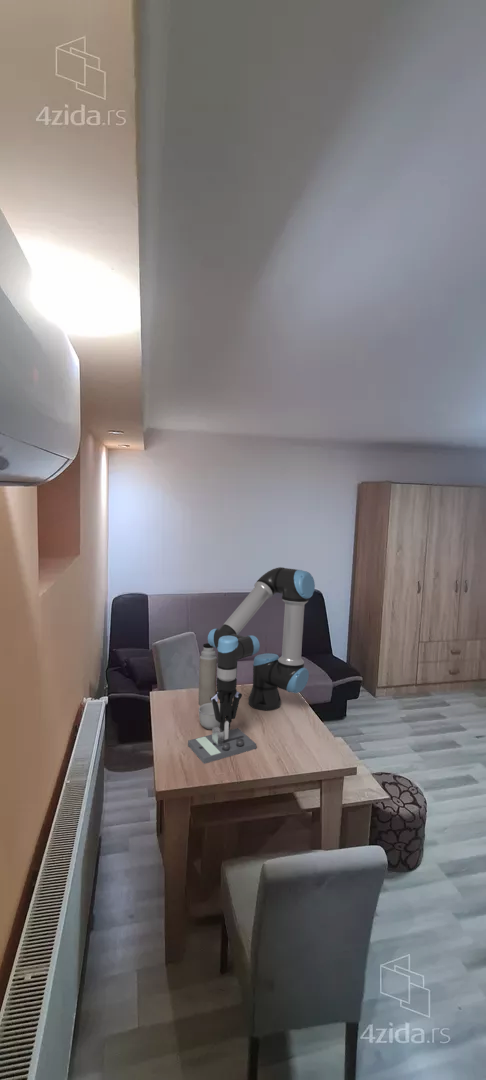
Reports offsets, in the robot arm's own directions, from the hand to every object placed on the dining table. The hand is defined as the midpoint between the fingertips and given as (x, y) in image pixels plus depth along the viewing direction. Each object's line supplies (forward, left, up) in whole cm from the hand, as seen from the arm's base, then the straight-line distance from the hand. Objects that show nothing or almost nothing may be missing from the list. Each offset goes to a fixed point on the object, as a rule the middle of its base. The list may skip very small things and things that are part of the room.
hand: (224, 737), depth 177 cm
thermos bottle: (-11, -37, -4) cm, 39 cm away
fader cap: (+3, 0, -2) cm, 3 cm away
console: (+1, 0, -4) cm, 4 cm away
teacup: (-4, -18, -4) cm, 19 cm away
